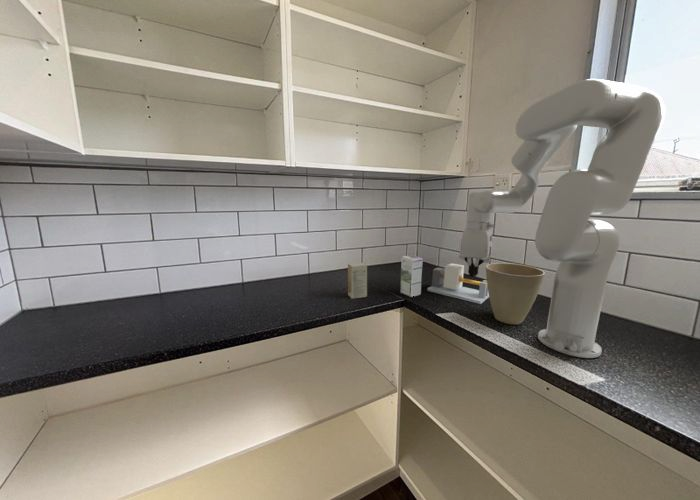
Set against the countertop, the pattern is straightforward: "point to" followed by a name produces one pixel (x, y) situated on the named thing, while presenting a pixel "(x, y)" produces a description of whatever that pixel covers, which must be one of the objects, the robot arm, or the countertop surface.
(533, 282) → the plant pot
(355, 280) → the skincare box
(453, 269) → the slotted white cube
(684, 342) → the countertop surface
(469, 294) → the grey rod holder
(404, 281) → the syrup box
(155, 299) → the countertop surface
